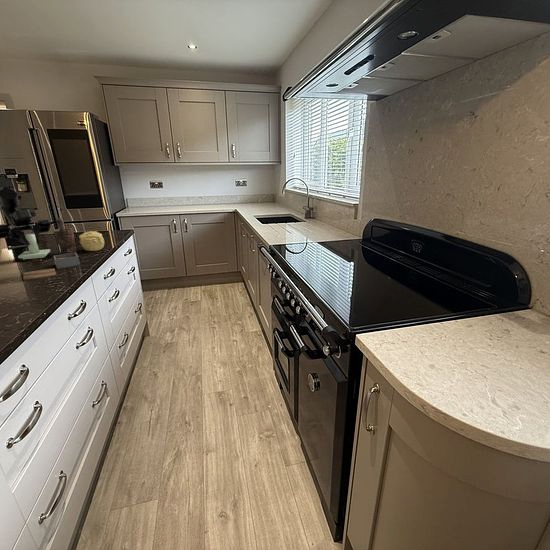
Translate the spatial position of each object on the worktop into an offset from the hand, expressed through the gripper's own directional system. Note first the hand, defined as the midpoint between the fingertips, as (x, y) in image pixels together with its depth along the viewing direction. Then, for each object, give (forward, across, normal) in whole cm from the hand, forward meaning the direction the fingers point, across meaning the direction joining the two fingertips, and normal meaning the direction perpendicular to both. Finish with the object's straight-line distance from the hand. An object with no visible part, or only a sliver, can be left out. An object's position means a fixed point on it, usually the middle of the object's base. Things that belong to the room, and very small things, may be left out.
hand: (33, 244), depth 124 cm
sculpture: (-8, +36, +28) cm, 46 cm away
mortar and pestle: (-10, +24, +29) cm, 39 cm away
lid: (+3, 0, +5) cm, 6 cm away
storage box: (+5, +13, +14) cm, 20 cm away
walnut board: (+9, 0, +10) cm, 14 cm away
